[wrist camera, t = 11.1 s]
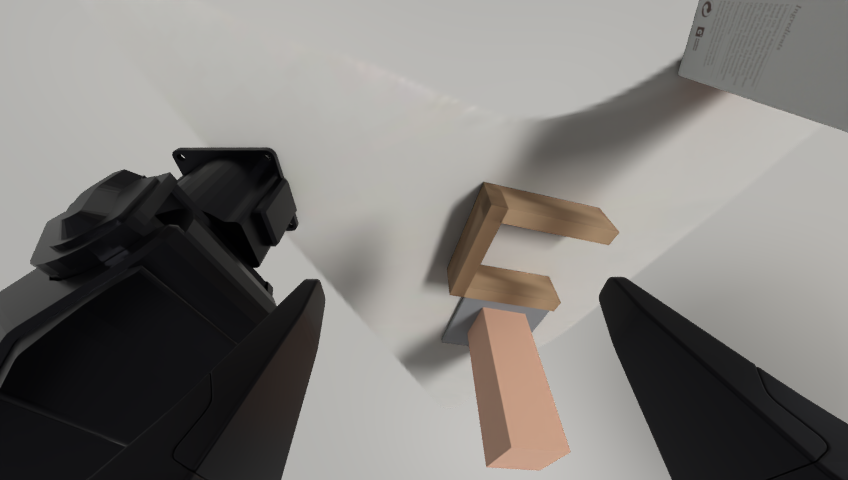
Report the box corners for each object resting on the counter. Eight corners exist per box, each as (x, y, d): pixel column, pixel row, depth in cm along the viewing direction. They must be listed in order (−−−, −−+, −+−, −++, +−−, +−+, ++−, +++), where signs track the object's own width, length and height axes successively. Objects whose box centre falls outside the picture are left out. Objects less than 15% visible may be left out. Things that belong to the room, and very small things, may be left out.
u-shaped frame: (446, 269, 27) (449, 294, 25) (483, 182, 22) (491, 204, 20) (542, 285, 29) (553, 311, 27) (599, 208, 23) (619, 232, 21)
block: (467, 333, 33) (486, 467, 24) (482, 307, 30) (511, 447, 21) (506, 338, 34) (539, 470, 25) (525, 313, 31) (570, 451, 22)
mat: (441, 339, 34) (441, 342, 34) (468, 286, 29) (469, 289, 29) (515, 348, 36) (516, 351, 36) (553, 300, 30) (555, 303, 30)
